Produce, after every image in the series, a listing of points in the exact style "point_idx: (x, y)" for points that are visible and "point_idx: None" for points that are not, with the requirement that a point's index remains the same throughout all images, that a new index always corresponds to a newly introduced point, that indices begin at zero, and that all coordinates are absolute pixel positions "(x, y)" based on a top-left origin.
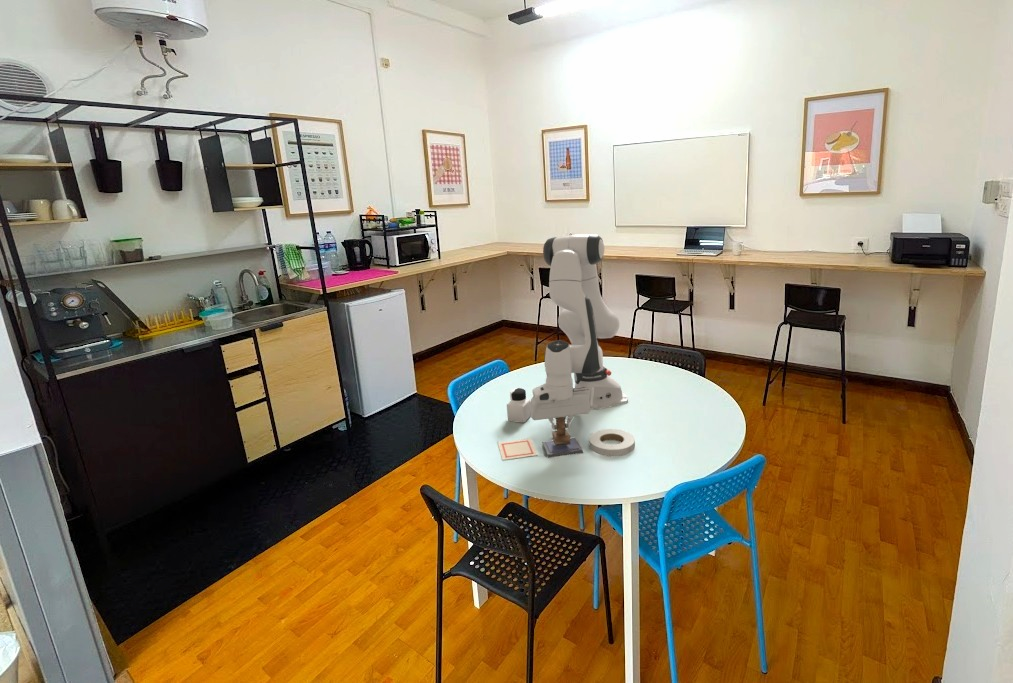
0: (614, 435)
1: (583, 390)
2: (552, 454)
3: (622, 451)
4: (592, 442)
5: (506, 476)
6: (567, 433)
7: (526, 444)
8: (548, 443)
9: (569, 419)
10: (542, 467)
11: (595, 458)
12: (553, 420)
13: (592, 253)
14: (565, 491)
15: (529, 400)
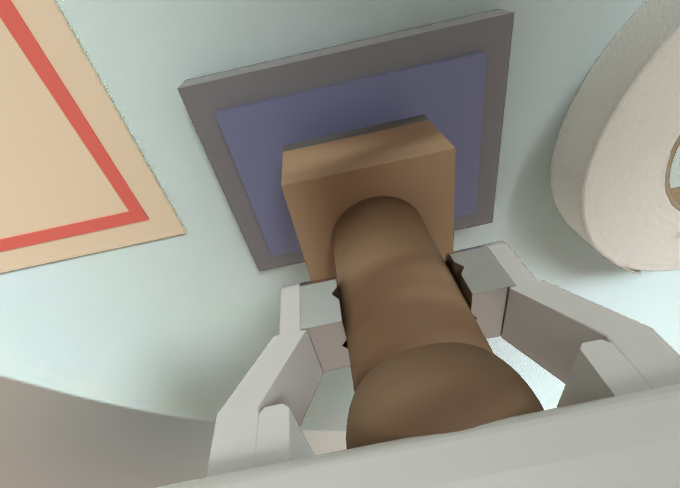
0: None
1: None
2: (288, 263)
3: None
4: (597, 185)
5: (79, 384)
6: (441, 234)
7: (17, 66)
8: (245, 138)
9: (558, 365)
10: (240, 328)
11: (525, 259)
12: (313, 453)
13: None
14: (339, 423)
15: None
